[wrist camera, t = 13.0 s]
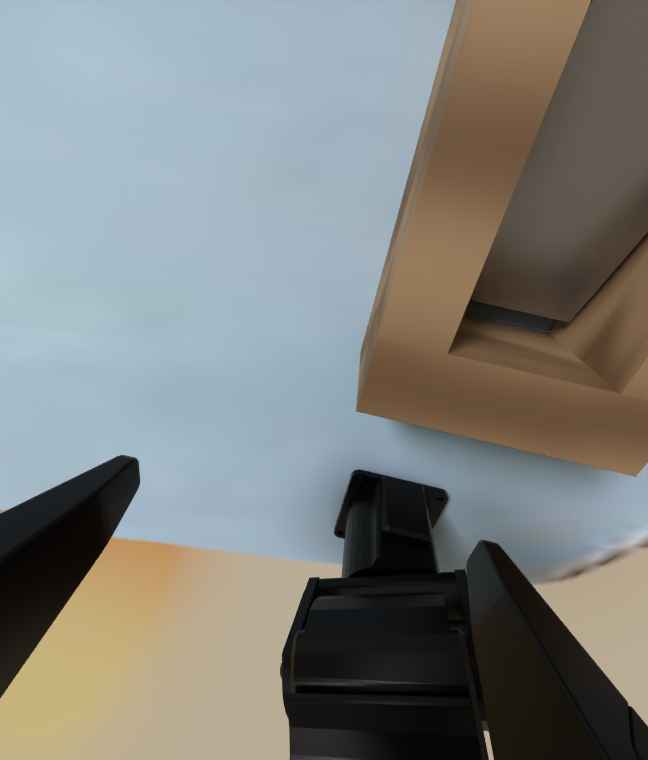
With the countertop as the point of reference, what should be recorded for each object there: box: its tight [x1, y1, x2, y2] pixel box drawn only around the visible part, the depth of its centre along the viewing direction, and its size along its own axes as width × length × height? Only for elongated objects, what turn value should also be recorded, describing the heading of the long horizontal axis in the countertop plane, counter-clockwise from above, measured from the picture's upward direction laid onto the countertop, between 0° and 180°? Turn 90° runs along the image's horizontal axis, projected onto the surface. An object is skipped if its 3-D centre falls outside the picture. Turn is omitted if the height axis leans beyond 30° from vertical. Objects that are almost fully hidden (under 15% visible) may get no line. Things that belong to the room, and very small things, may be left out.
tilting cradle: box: [470, 0, 648, 322], centre depth 12 cm, size 11×6×1 cm, turn 169°
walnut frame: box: [356, 0, 648, 477], centre depth 13 cm, size 19×12×6 cm, turn 169°
